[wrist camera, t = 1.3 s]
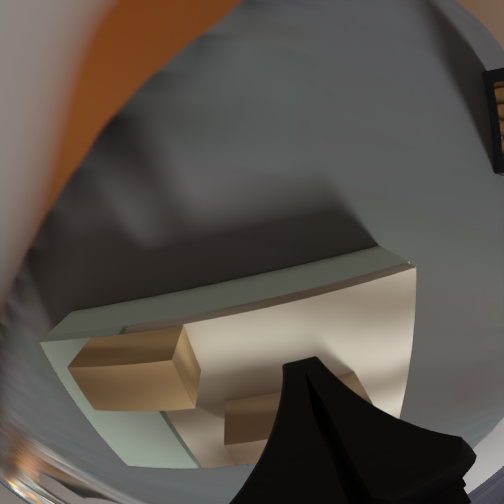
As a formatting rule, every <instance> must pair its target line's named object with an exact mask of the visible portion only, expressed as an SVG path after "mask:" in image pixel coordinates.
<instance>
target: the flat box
mask: <svg viewBox="0 0 504 504" xmlns="http://www.w3.org/2000/svg"><path fill="white" fill-rule="evenodd" d="M406 262H407V263H409V264H410V261H408V260H406V259H404V258H402V257H400V256H398V255H396V254H394V253H393V252H391V251H389V250H387V249H385V248H383V247H381V246H376V247H372V248H368V249H364V250H360V251H356V252H352V253H348V254H344V255H339V256H335V257H331V258H327V259H323V260H319V261H314V262H310V263H306V264H302V265H297V266H293V267H289V268H284V269H280V270H275V271H271V272H267V273H262V274H258V275H253V276H249V277H244V278H239V279H235V280H230V281H226V282H221V283H216V284H211V285H207V286H202V287H197V288H192V289H187V290H183V291H178V292H173V293H168V294H163V295H158V296H153V297H147V298H142V299H137V300H132V301H127V302H121V303H116V304H110V305H105V306H100V307H94V308H88V309H83V310H77V311H72V312H71V313H70V314H68V315H67V316H66V317H65V318H64V319H63V320H62V321H61V322H60V323H59V324H58V325H57V326H56V327H55V328H54V329H52V330H51V331H50V332H49V333H48V334H47V335H46V336H45V337H44V338H43V339H42V340H41V341H40V344H41V346H42V348H43V350H44V352H45V354H46V356H47V357H48V359H49V361H50V363H51V365H52V366H53V368H54V370H55V371H56V373H57V375H58V376H59V378H60V380H61V381H62V383H63V384H64V386H65V388H66V389H67V391H68V392H69V394H70V395H71V397H72V398H73V400H74V401H75V402H76V404H77V405H78V407H79V408H80V409H81V411H82V412H83V414H84V415H85V416H86V418H87V419H88V420H89V422H90V423H91V424H92V425H93V427H94V428H95V429H96V430H97V432H98V433H99V434H100V435H101V436H102V438H103V439H104V440H105V441H106V442H107V444H108V445H109V446H110V447H111V448H112V449H113V450H114V451H115V453H116V454H117V455H118V456H119V457H120V458H121V459H122V460H123V461H124V462H125V463H126V464H127V465H130V466H141V467H156V468H199V462H198V460H197V459H196V458H195V456H194V455H193V454H192V452H191V451H190V449H189V448H188V447H187V445H186V444H185V442H184V441H183V439H182V438H181V436H180V435H179V433H178V432H177V430H176V429H175V427H174V426H173V424H172V423H171V421H170V419H169V418H168V416H167V415H166V413H165V411H98V410H94V409H93V408H92V406H91V405H90V403H89V402H88V400H87V399H86V397H85V396H84V394H83V393H82V391H81V390H80V388H79V387H78V385H77V383H76V382H75V380H74V379H73V377H72V375H71V374H70V372H69V370H68V369H67V367H68V366H69V364H70V363H71V362H72V360H73V359H74V358H75V357H76V355H77V354H78V353H79V352H80V350H81V349H82V348H83V347H84V345H85V344H86V343H87V342H88V340H89V339H90V338H97V337H106V336H114V335H122V334H124V332H125V331H126V329H127V328H128V326H129V325H131V324H137V323H144V322H150V321H156V320H162V319H168V318H174V317H179V316H185V315H190V314H196V313H201V312H206V311H211V310H216V309H221V308H226V307H231V306H236V305H241V304H246V303H250V302H255V301H259V300H264V299H268V298H273V297H277V296H282V295H286V294H290V293H294V292H298V291H303V290H307V289H311V288H315V287H319V286H323V285H327V284H331V283H334V282H338V281H342V280H346V279H350V278H353V277H357V276H361V275H364V274H368V273H372V272H375V271H379V270H382V269H386V268H389V267H392V266H396V265H399V264H403V263H406Z"/></svg>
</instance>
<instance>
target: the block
mask: <svg viewBox="0 0 504 504" xmlns="http://www.w3.org/2000/svg"><path fill="white" fill-rule="evenodd" d="M67 369H68V370H69V372H70V374H71V375H72V377H73V379H74V380H75V382H76V383H77V385H78V387H79V388H80V390H81V391H82V393H83V394H84V396H85V397H86V399H87V400H88V402H89V403H90V405H91V406H92V408H93V409H94V410H98V411H167V410H182V409H194V408H195V406H196V400H197V393H198V387H199V380H200V374H201V369H200V367H199V364H198V362H197V359H196V357H195V354H194V352H193V349H192V346H191V344H190V341H189V339H188V336H187V333H186V331H185V328H184V325H181V326H175V327H169V328H163V329H156V330H150V331H143V332H136V333H129V334H122V335H114V336H106V337H97V338H90V339H89V340H88V342H87V343H86V344H85V345H84V347H83V348H82V349H81V350H80V352H79V353H78V354H77V355H76V357H75V358H74V359H73V360H72V362H71V363H70V364H69V366H68V367H67Z"/></svg>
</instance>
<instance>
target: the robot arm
mask: <svg viewBox="0 0 504 504" xmlns="http://www.w3.org/2000/svg"><path fill="white" fill-rule="evenodd" d="M282 371H283V380H282V390H281V396H280V402H279V407H278V411H277V414H276V418H275V422H274V425H273V428H272V431H271V433H270V436H269V439H268V441H267V444H266V446H265V448H264V450H263V452H262V454H261V456H260V458H259V460H258V462H257V464H256V466H255V468H254V469H253V471H252V473H251V474H250V476H249V477H248V479H247V480H246V482H245V484H244V485H243V487H242V488H241V489H240V491H239V492H238V493H237V495H236V496H235V497H234V498H233V500H232V501H231V502H230V503H229V504H504V466H503V467H502V468H501V469H500V470H498V471H497V472H496V473H495V474H494V475H493V476H491V477H490V478H489V479H488V480H486V481H485V482H484V483H482V484H481V485H480V486H479V487H477V488H476V489H474V490H473V491H472V492H470V493H469V494H467V493H466V492H465V490H464V487H465V486H466V483H465V482H464V480H463V476H464V475H465V474H466V473H467V472H468V470H469V469H470V468H471V467H472V465H473V464H474V462H475V460H476V454H475V453H474V451H473V450H472V448H471V447H470V446H469V445H468V444H467V443H466V442H465V441H464V440H463V439H462V437H459V436H453V435H448V434H443V433H438V432H434V431H431V430H427V429H424V428H421V427H418V426H415V425H413V424H410V423H408V422H405V421H403V420H401V419H398V418H396V417H394V416H392V415H390V414H388V413H386V412H384V411H383V410H381V409H379V408H377V407H376V406H374V405H372V404H371V403H369V402H368V401H366V400H365V399H363V398H362V397H361V396H359V395H358V394H357V393H355V392H354V391H353V390H351V389H350V388H349V387H348V386H347V385H345V384H344V383H343V382H342V381H341V380H339V379H338V378H337V377H336V376H335V375H334V374H333V373H332V372H331V371H330V370H329V369H328V368H327V367H326V366H325V365H324V364H323V363H322V361H321V360H320V359H319V358H318V357H316V356H313V357H310V358H306V359H302V360H298V361H294V362H289V363H285V364H284V365H283V366H282Z"/></svg>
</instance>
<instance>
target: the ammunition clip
mask: <svg viewBox="0 0 504 504" xmlns="http://www.w3.org/2000/svg"><path fill="white" fill-rule="evenodd" d="M482 76H483V80H484V85H485V89H486V95H487V100H488V106H489V113H490V121H491V129H492V140H493V156H494V173H495V174H499V175H502V176H504V68H500V69H495V70H490V71H485V72H483V73H482Z"/></svg>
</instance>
